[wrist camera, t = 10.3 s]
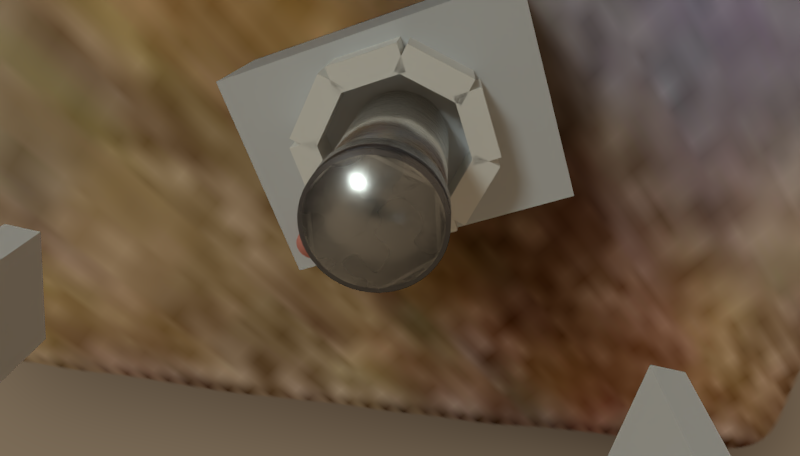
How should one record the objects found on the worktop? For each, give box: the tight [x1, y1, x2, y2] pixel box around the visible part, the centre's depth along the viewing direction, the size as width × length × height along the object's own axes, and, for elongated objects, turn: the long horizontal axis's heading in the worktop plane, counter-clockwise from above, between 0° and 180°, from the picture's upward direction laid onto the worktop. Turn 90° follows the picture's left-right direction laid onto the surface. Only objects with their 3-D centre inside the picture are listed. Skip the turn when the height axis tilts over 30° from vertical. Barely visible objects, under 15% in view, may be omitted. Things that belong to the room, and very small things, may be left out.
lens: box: [297, 91, 451, 293], centre depth 24 cm, size 5×5×10 cm
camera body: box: [216, 0, 574, 270], centre depth 30 cm, size 14×10×8 cm
